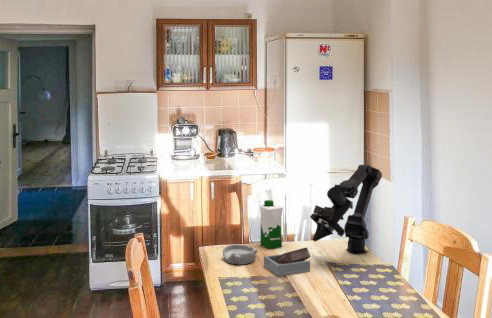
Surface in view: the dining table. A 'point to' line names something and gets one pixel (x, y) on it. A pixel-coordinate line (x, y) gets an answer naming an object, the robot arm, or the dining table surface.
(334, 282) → the dining table surface
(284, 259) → the box
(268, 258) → the tray
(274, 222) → the milk carton
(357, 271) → the dining table surface
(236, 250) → the dish
